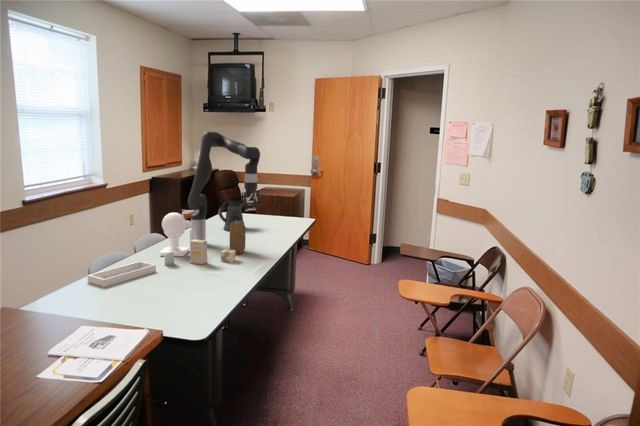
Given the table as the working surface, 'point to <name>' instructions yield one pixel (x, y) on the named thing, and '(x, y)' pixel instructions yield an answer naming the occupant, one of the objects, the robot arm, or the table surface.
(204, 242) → the supplement box
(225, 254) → the light wooden cube
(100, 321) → the table surface
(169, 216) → the trophy
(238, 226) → the block
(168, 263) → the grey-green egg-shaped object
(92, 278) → the tray
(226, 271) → the table surface
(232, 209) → the beer stein
